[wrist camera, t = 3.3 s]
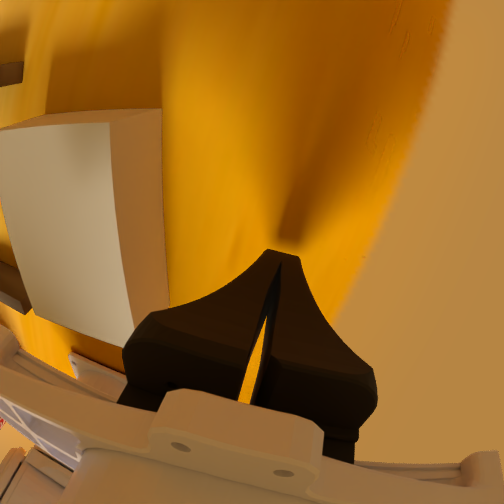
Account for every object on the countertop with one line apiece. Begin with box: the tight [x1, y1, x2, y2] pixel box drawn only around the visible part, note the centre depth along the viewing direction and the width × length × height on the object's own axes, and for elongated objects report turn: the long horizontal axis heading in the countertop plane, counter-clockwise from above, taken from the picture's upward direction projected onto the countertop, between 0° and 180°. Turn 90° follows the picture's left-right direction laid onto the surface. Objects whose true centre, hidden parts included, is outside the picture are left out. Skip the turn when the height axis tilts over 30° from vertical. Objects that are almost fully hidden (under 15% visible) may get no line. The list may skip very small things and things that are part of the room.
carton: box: [0, 108, 170, 348], centre depth 13 cm, size 10×7×4 cm
